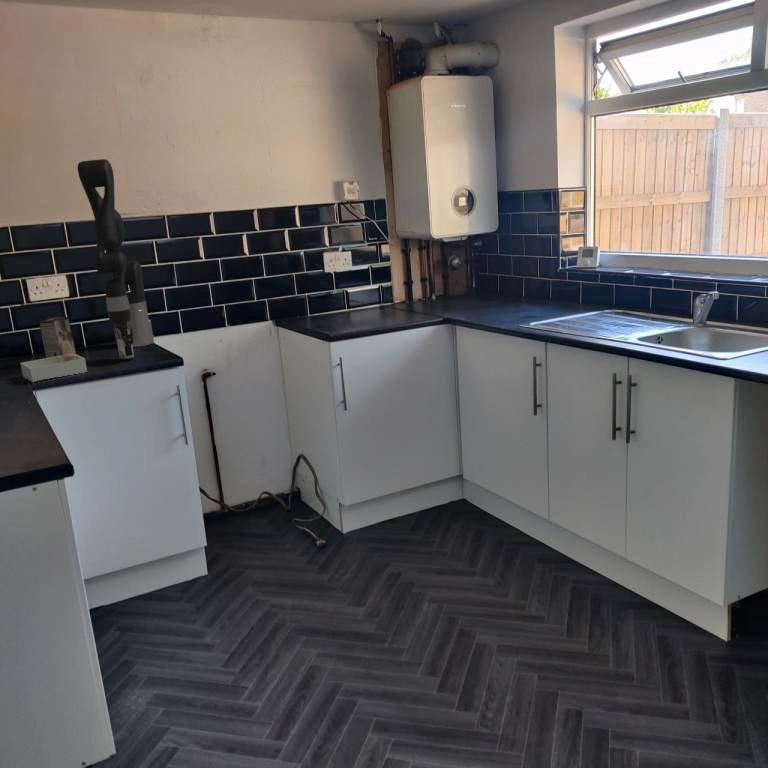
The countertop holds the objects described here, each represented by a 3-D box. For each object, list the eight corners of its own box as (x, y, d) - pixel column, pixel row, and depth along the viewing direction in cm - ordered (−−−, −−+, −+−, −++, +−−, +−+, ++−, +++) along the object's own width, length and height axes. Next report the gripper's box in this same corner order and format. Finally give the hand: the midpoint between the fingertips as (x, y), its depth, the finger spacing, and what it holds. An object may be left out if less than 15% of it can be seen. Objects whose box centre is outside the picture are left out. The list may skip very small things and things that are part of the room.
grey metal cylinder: (131, 354, 268) (128, 336, 266) (136, 356, 264) (133, 338, 262) (117, 357, 265) (114, 338, 263) (122, 359, 261) (119, 340, 259)
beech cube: (73, 367, 255) (71, 353, 254) (78, 369, 252) (75, 355, 250) (59, 370, 252) (56, 356, 251) (63, 372, 249) (60, 358, 247)
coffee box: (62, 358, 275) (54, 316, 271) (77, 358, 274) (69, 316, 270) (46, 364, 267) (38, 321, 262) (62, 364, 265) (53, 321, 261)
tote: (75, 366, 260) (73, 352, 259) (87, 372, 250) (84, 358, 248) (23, 376, 250) (20, 362, 248) (33, 383, 239) (30, 368, 238)
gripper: (136, 308, 256) (143, 355, 261) (121, 304, 267) (129, 349, 272) (115, 312, 252) (123, 359, 256) (101, 308, 263) (109, 353, 267)
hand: (126, 354), depth 264 cm, fingers closed on grey metal cylinder, 5 cm apart
